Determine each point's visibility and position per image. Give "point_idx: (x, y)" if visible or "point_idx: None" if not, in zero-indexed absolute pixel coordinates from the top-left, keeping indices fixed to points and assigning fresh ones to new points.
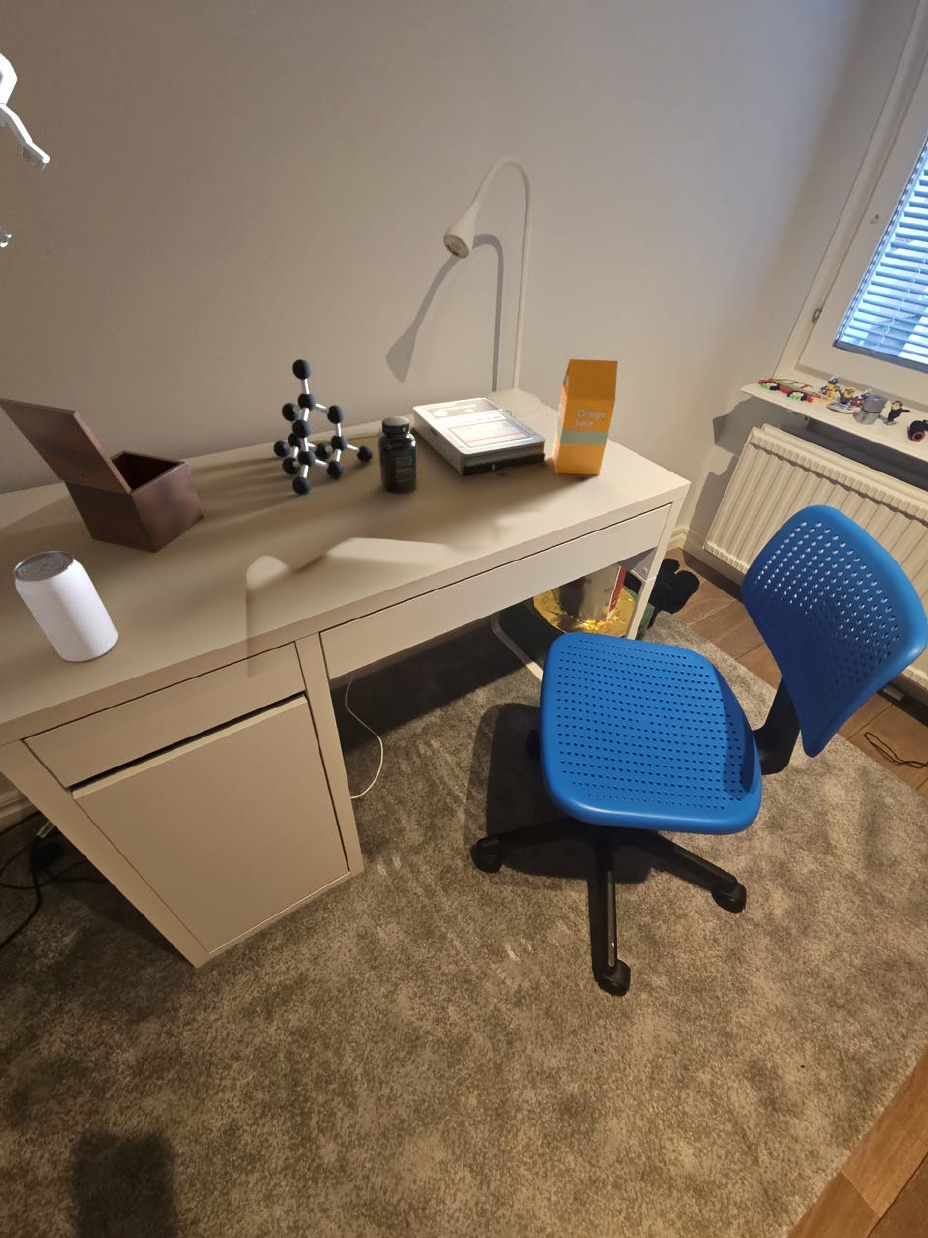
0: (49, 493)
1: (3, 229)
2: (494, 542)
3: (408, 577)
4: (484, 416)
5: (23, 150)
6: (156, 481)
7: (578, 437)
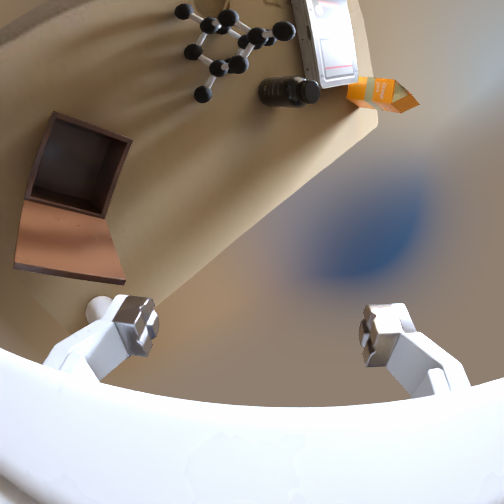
0: None
1: (144, 312)
2: (303, 178)
3: (260, 217)
4: (340, 28)
5: (379, 365)
6: (114, 186)
7: (372, 104)
